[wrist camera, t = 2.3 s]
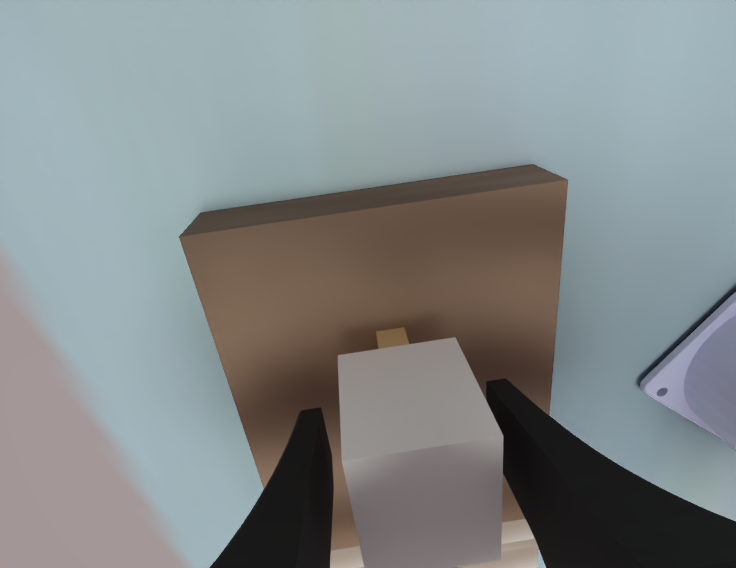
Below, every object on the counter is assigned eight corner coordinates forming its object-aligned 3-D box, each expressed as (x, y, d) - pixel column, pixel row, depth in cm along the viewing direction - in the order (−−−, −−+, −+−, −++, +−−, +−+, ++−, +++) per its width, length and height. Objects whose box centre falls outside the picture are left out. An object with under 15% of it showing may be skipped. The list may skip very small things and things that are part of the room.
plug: (445, 405, 17) (501, 560, 12) (354, 420, 17) (367, 581, 12) (439, 305, 15) (503, 435, 10) (336, 321, 15) (341, 461, 10)
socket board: (515, 566, 26) (533, 612, 24) (318, 598, 26) (317, 648, 24) (533, 164, 16) (567, 179, 13) (200, 212, 15) (178, 236, 13)
